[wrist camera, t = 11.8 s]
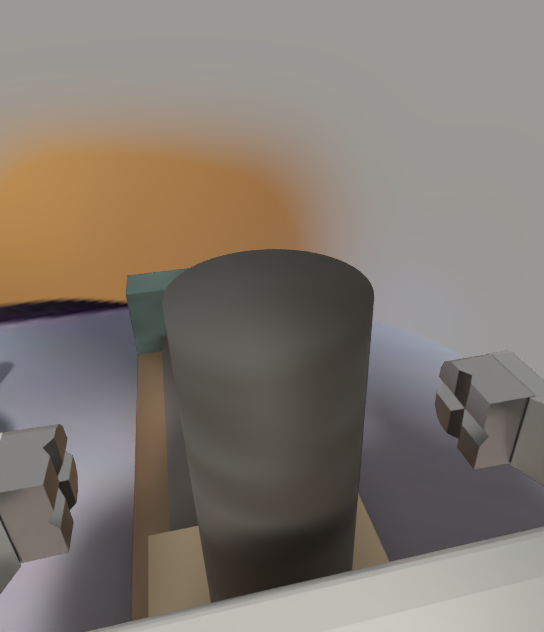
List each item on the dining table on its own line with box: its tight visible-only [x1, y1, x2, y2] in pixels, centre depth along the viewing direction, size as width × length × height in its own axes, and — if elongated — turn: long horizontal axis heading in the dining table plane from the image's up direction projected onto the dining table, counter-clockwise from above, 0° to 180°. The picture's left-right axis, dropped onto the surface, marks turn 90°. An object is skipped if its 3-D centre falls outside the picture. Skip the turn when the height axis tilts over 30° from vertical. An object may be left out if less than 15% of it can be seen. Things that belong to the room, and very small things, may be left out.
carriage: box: [148, 249, 389, 617], centre depth 11 cm, size 7×7×12 cm
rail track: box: [126, 268, 198, 621], centre depth 20 cm, size 9×28×6 cm, turn 12°
